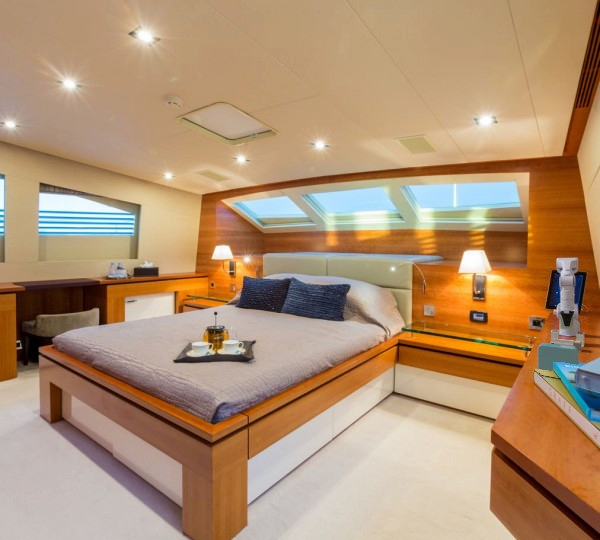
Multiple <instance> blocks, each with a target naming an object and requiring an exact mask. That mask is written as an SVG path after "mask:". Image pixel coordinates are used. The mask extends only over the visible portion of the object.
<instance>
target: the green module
mask: <svg viewBox="0 0 600 540" xmlns="http://www.w3.org/2000/svg"><path fill="white" fill-rule="evenodd" d="M560 329H568V330H574V316H572V318H571V323H570V326H564V322H563V318H562V316H560V319H559V330H560Z"/></svg>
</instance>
